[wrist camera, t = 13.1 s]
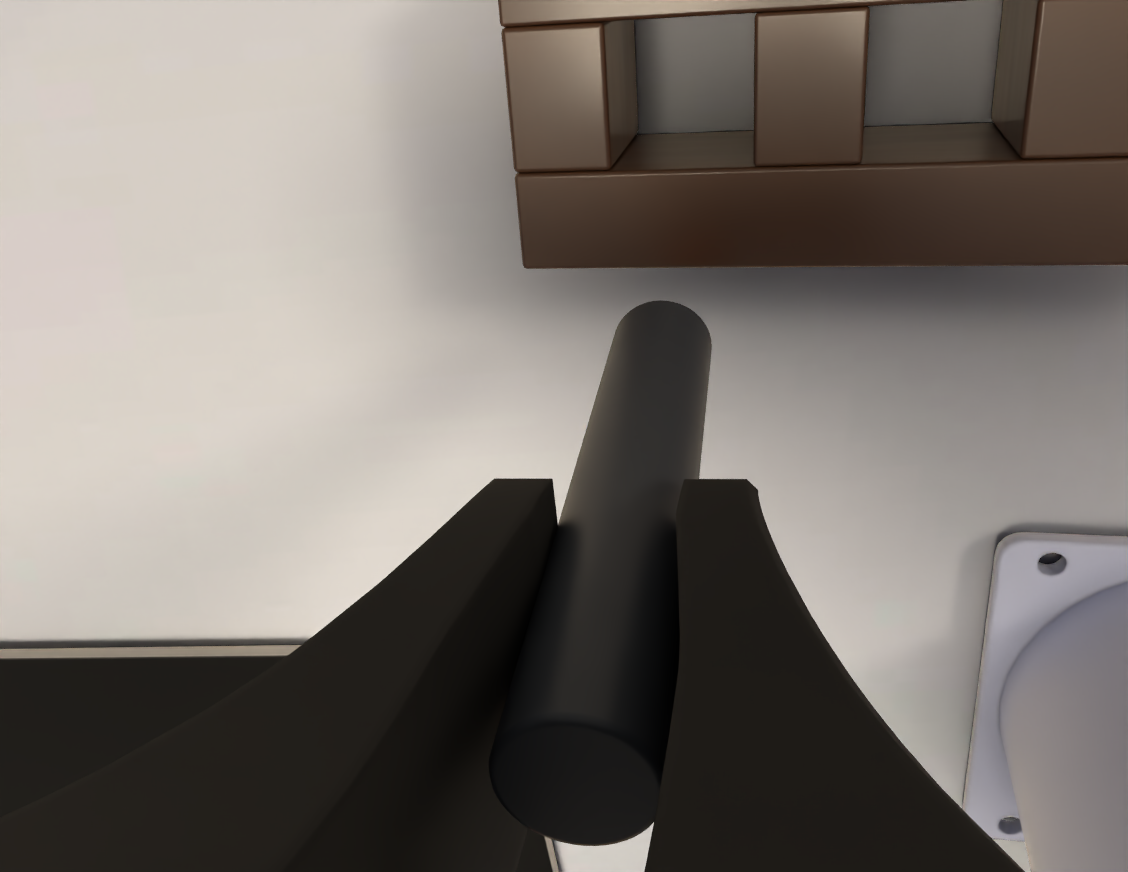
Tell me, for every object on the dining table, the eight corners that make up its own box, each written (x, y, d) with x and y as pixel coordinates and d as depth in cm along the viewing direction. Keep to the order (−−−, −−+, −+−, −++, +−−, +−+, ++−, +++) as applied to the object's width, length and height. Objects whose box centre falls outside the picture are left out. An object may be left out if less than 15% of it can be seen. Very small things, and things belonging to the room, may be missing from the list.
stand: (536, -92, 18) (488, -91, 15) (1421, -166, 15) (1548, -179, 12) (559, 221, 20) (521, 270, 18) (1327, 209, 17) (1418, 265, 15)
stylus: (712, 276, 15) (662, 723, 8) (715, 363, 16) (671, 856, 8) (617, 279, 16) (475, 715, 8) (623, 365, 16) (498, 844, 9)
